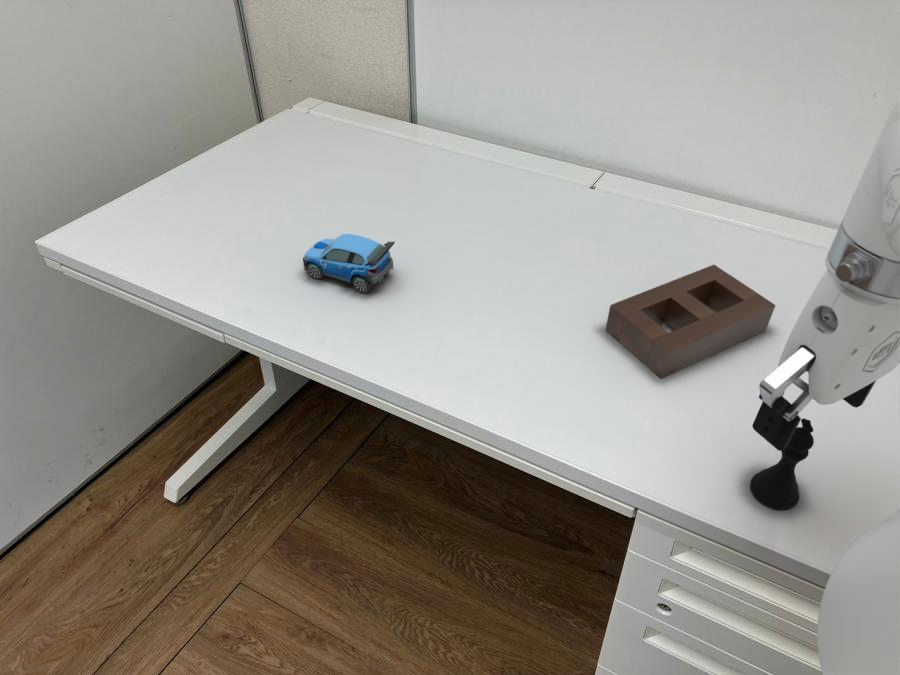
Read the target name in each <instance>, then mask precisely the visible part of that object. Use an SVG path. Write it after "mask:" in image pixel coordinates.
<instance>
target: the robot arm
mask: <svg viewBox="0 0 900 675" xmlns="http://www.w3.org/2000/svg"><path fill="white" fill-rule="evenodd" d="M879 133H880V134H879V136H878V138H877V141H876V142H875V144H874V147H873V149H872V151H871V154H870V156H869V158H868V161H867V163H866V165H865V167H864V170H863V172H862V174H861V176H860V179H859V181H858V183H857V186H856V187H855V188H856V189H855V190H854V192H853V195H852V197H851V199H850V202H849V204H848V206H847V208H846V211H845V213H844V215H843V218H842V220H841V223H840V225H839V227H838V229H837V231H836V234H835V236H834V239H833V240H832V242H831V246H830V247H829V250H828V252H827V254H826V256H825V258H824V259H825V260H824V263H825V267H826V271H825V272H824V274H823V275H822V277H821V278H820V280H819V282H818V283H817V284H816V286H815V287H814V290H813V291H812V293H811V295H810V297H809V298H808V300H807V302H806V303H805V306H804V307H803V309H802V311H801V313H800V315H799V316H798V318H797V320H796V322H795V324H794V326H793V328H792V330H791V332H790V333H789V336H788V338H787V340H786V343H785V345H784V347H783V350H782V352H781V355H780V358H779V360H778V366H777V367H776V368H775V369H774V370H772V372H770V373H769V374H768V375H767V376H765V377H764V379H762V380H761V381H760V383H759V385H758V387H759V395H758V399H760V401H762V402H761V404H760V407H759V409H758V411H757V413H756V416H755V418H754V421H753V422H752V424H751V426H752V429H753V431H755V433H757V434H758V435H759V436H760V437H762V438H763V439H764V440H765V441H766V442H767V443H769V444H770V445H771V446H772V447H773V448H774V449H776V450H777V451H779V452H781V451H782V450H784V449H786V448H787V446H788V444H789V442H790V440H791V438H792V436H793V434H794V432H795V430H796V428H797V427H799V425H800V422H801V419H802V418H801V416H799V414H801V412H802V411H804V409H805V408H806V407H807V406H808V405H809V403H810V402H811V401H812V400H814V401H815V402H816V403H817V404H819V405H823V406H825V405H832V404H835V403H838V402H839V401H844V402H846V403H847V404H849V405H850V406H851V407H853V408H860V407H861V406H863V404H864V402H865V401H866V400H867V397H868V396H869V394H870V392H871V390H872V389H873V387H874V386H875V384H876V382H877V381H878V380H879V379H882V378H883V377H884V376H886V375H888V374H889V373H891V372H892V371H893V370H894V369H896V368H897V367H898V366H899V365H900V93H899V94H898V95H897V96H896V99H895V101H894V103H893V104H892V106H891V108H890V111H889V113H888V115H887V118H886V120H885V122H884V125H883V126H882V128H881V131H880V132H879ZM806 372H807V373H808V383H807V382H806V381H804V379H802V378H801V376H803V374H805V373H806ZM792 384H793V385H795V386H796V387H797V388H799V389H800V390H801V391H802V392H801V393H800V394H799V395H798V397H797V398H796V399H795V400H794V401H793V402H792V403H791V402H790V401H789V400H787V398H785V397H784V396H785V391H786V390H787V389H788V387H789V386H791V385H792ZM816 631H817V632H816V634H817V635H816V639H817V653H818V654H817V655H818V658H819V659H818V660H819V666H820V669H821V674H822V675H900V509H899V510H896V511H895V512H893V513H892V514H890V515H888V516H886V517H885V518H883V519H881V520H880V521H878V522H876V523H875V524H874V525H872V526H871V527H869V528H868V529H867V530H866V531H864V532H863V533H862V534H861V535H860V536H858V537H857V539H855V540H854V541H853V542H852V543H851V544H850V545H849V547H848V548H847V549H845V552H844V553H843V554H842V555H841V557H840V558H839V560H838V562H837V563H836V565H835V566H834V568H833V570H832V572H831V573H830V574H829V578H828V580H827V582H826V585H825V587H824V591H823V592H822V597H821V600H820V605H819V611H818V616H817V626H816Z"/></svg>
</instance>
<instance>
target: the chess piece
mask: <svg viewBox="0 0 900 675" xmlns="http://www.w3.org/2000/svg"><path fill="white" fill-rule="evenodd" d="M800 422H801V426H800V427H799V426H797V428H796V430H795V432H794V434H793V436H792V438H791V440H790V442H789V444H788V446H787V448H786V449H784V450H782V451H780V452H781V458H780V460H779V461H778V462H777V463H775V464H773V465H771V466H770V467H768V468H764V469H762V470H760V471H759V472H757V473H755V474H754V475H753V476H752V478H751V479H750V482H749V483H750V485H749V487H750V491H751V493H752V495H753V497H754V498H755V499H756V500H757V501H758V502H759V503H761V504H762V505H764V506H765V507H768V508H769V509H773V510H777V511H788V510H791V509H792V508H794V507H796V506H797V504H798V503H799V500H800V491H799V489H800V488H799V485H798V483H797V477H796V472H795V470H796V466H797V464H799V463H801V462H803V461H805V460H806V459H807V458H808V457H809V452H810V451H809V450H811V449H812V448H813V446H814V445H815V444H814V443H815V439H814V437H813V435H812V433H813V432H814V427H813V426H812V421H811V420H810V419H807V418H804V417H803V418H801V420H800Z"/></svg>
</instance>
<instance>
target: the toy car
mask: <svg viewBox="0 0 900 675" xmlns="http://www.w3.org/2000/svg"><path fill="white" fill-rule="evenodd" d="M395 243H396V241H395V240H394V241H387V242H386V243H384V244H382V243H380V242H377V241H375V240H373V239H371V238H368V237H365V236H362V235H357V234H352V233H344V234H341V235H339V236H337V237H335V238H324V239H321V240H319V241H317V242H315V243H314V244H313V245H311V247H310V248H309V249H308V250H306V252H305V253H304V256H303V257H302V264H303V269H304V271H305V272H307V273H308V274H309V276H310V277H312V278H313V279H316V280H320V279H322V278H323V277H326V278H328V279H329V278H330V279H332V280H336V281H339V282H342V283H345V284H348V285H353V287H354V288H355V290H356V291H358V292H359V293H362V294H365V293H368V292H370V290H371V289H372V287H374V286H376V285H377V284H379V283H381V282H383V281H384V277H385V276H386V275H387V274H388V273H389V272H390V270H394V260H393V258H392V256H391V251H390V249H391V248H392V247H393V246H394V244H395Z"/></svg>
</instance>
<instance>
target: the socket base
mask: <svg viewBox="0 0 900 675" xmlns="http://www.w3.org/2000/svg"><path fill="white" fill-rule="evenodd" d="M775 308H776V304H775V303H773V302H772V301H770V300H769V299H767V298H766V297H764V296H762V294H759V293H758V292H756V291H755V290H754V289H753V288H751V287H749V286H747V285H746V284H745V283H743V282H741V281H740V280H739V279H737V278H736V277H734V276H732V275H731V274H729V273H728V272H726V271H725V270H723V269H722V268H721V267H718V266H717V265H716V264H712V265H709V266H706V267H704V268H701V269H699V270H696V271H693V272H691V273H688V274H686V275H684V276H683V275H682V276H681V277H679V278H676V279H673V280H671V281H668V282H666V283H663V284H660V285H657V286H655V287H652V288H650V289H648V290H645V291H643V292H640V293H638V294H635V295H632V296H630V297H627V298H625V299H622V300H619V301H617V302H614V303H612V304H610V305H609V311H608V315H607V320H606V325H605V332H606V333H607V334H609V335H610V336H611V337H612V338H613V339H614V340H616V341H617V343H619V344H620V345H621V346H623V347H624V348H625V350H627V351H628V352H629V353H631V354H632V355H633V356H634V357H635V358H636V359H637V360H639V361H640V362H641V363H642V364H644V366H646V367H647V369H649V370H650V371H652V372H653V373H654V375H656V376H657V377H658V378H660V379H661V380H662V379H665V378H666V377H668V376H671V375H673V374H674V373H677V372H679V371H682V370H684V369H686V368H688V367H691V366H692V365H694V364H697V363H699V362H701V361H703V360H705V359H708V358H710V357H712V356H714V355H716V354H718V353H721V352H724V351H725V350H727V349H729V348H731V347H734V346H735V345H738V344H741V343H742V342H744V341H747V340H749V339H750V338H751V339H752V338H754V337H756V336H757V335H759V334H762V333H764V332H766V331H767V328H768V326H769V324H770V321H771V319H772V316H773V314H774V311H775ZM663 324H665V325H666V326H667V327H669V328H670V329H671V330H672V331H670V332H669V331H667V329H665V328H664V327H663V326H661V325H663Z"/></svg>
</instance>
